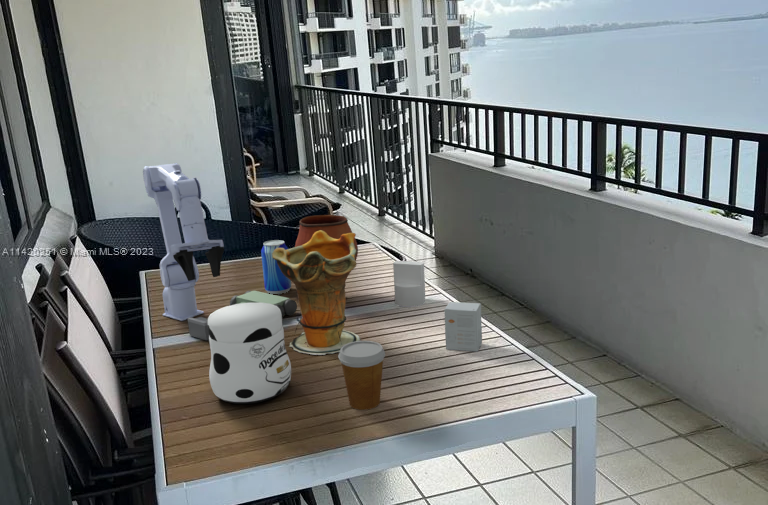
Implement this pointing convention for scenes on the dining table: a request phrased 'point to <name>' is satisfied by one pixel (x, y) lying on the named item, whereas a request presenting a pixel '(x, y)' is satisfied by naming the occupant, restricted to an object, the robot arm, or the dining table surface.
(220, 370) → the milk container
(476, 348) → the small box
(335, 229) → the terracotta pot
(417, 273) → the cylinder with rectangular tab
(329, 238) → the decorative vase
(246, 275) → the dining table surface
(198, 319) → the grey stepped block
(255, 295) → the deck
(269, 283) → the beer can
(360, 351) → the disposable coffee cup
